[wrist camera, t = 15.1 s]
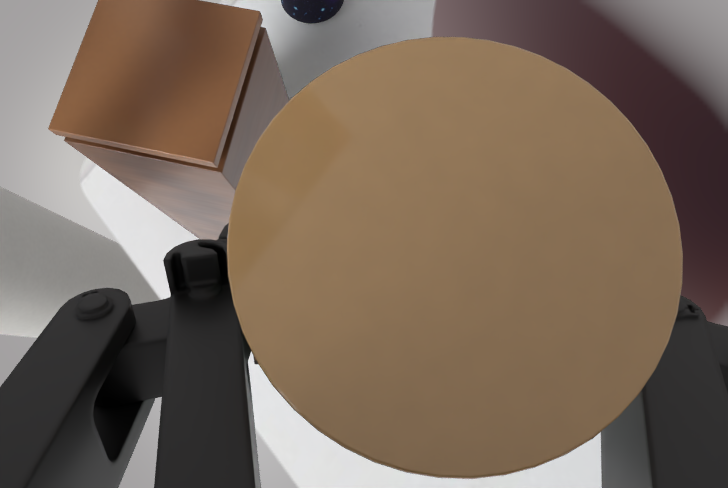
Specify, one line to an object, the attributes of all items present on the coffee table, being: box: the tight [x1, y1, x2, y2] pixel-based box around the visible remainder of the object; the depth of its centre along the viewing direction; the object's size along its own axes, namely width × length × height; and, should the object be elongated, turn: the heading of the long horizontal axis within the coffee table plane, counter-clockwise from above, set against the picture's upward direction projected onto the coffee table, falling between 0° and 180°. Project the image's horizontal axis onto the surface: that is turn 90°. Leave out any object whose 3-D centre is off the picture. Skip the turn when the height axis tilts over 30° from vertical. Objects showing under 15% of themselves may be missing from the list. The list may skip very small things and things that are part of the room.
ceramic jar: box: [227, 37, 683, 479], centre depth 13 cm, size 6×6×12 cm
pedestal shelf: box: [48, 0, 289, 240], centre depth 33 cm, size 8×8×20 cm
